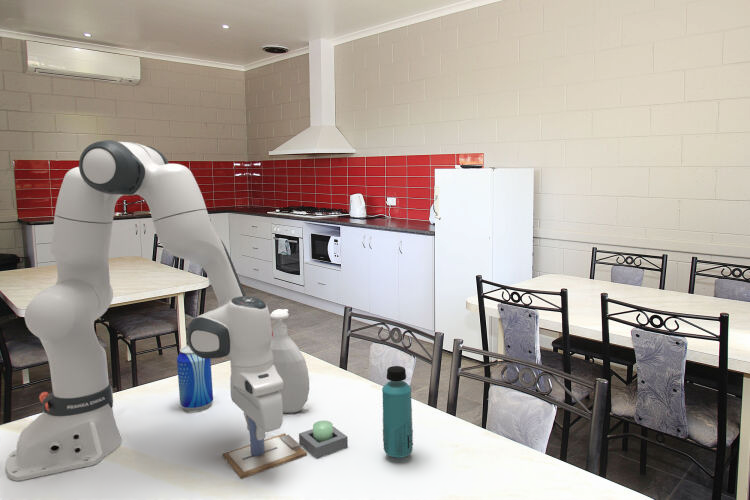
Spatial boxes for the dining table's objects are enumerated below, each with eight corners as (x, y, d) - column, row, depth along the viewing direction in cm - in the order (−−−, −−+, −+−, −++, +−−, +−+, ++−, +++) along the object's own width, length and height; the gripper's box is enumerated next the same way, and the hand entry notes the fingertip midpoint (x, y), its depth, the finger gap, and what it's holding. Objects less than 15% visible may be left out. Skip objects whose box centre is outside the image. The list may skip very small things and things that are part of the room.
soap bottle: (315, 403, 142) (312, 305, 138) (305, 417, 134) (301, 313, 130) (264, 400, 145) (260, 304, 141) (252, 413, 137) (246, 311, 133)
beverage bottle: (411, 466, 111) (410, 374, 108) (380, 463, 112) (378, 372, 109) (415, 450, 117) (414, 363, 114) (385, 447, 118) (384, 361, 116)
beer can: (217, 407, 141) (213, 349, 139) (185, 415, 136) (180, 356, 134) (208, 396, 148) (204, 341, 146) (176, 404, 143) (172, 347, 141)
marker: (253, 457, 113) (251, 413, 111) (248, 451, 115) (245, 407, 114) (267, 452, 114) (264, 409, 113) (261, 446, 117) (259, 404, 115)
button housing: (316, 458, 114) (316, 447, 114) (299, 443, 121) (298, 433, 120) (347, 447, 119) (347, 436, 119) (329, 433, 125) (329, 423, 125)
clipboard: (241, 478, 107) (240, 472, 107) (222, 456, 116) (222, 450, 116) (306, 455, 116) (306, 449, 116) (284, 435, 125) (284, 430, 125)
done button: (319, 447, 117) (318, 431, 116) (309, 439, 120) (309, 424, 120) (336, 441, 119) (336, 425, 119) (326, 433, 123) (326, 418, 122)
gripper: (221, 362, 119) (225, 420, 121) (257, 392, 102) (261, 458, 104) (248, 356, 122) (251, 413, 124) (287, 384, 106) (290, 448, 108)
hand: (256, 434), depth 114 cm, fingers closed on marker, 3 cm apart
